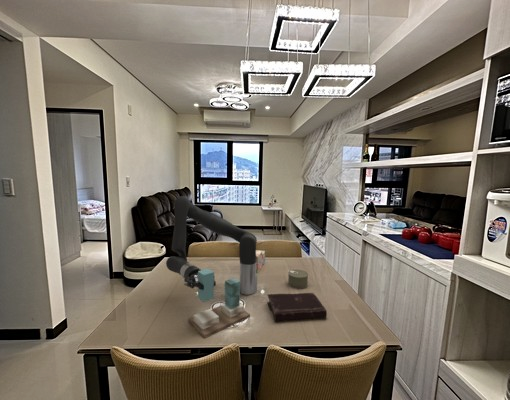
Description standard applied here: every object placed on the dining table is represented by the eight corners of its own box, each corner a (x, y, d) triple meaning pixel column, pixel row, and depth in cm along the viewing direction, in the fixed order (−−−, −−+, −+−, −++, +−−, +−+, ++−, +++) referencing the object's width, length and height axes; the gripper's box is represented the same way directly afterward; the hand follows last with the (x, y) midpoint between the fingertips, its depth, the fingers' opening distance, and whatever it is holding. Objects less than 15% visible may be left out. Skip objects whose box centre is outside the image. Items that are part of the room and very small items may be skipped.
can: (301, 290, 144) (301, 279, 144) (284, 284, 152) (284, 273, 151) (311, 283, 153) (311, 273, 153) (294, 278, 161) (294, 268, 160)
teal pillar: (208, 294, 113) (208, 268, 111) (213, 298, 109) (214, 272, 108) (198, 297, 109) (198, 271, 108) (203, 302, 106) (203, 275, 104)
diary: (326, 320, 117) (327, 310, 116) (274, 324, 113) (274, 313, 112) (311, 299, 135) (312, 290, 134) (266, 302, 131) (266, 293, 131)
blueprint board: (231, 303, 128) (231, 273, 127) (250, 316, 117) (250, 283, 115) (188, 321, 113) (187, 286, 111) (204, 337, 102) (204, 300, 100)
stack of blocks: (257, 261, 190) (257, 246, 188) (265, 262, 188) (265, 247, 187) (249, 272, 169) (249, 255, 168) (257, 273, 168) (258, 256, 166)
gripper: (176, 269, 114) (193, 282, 101) (204, 262, 123) (223, 273, 111) (176, 284, 115) (193, 299, 102) (204, 276, 124) (223, 289, 111)
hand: (209, 285), depth 106 cm, fingers closed on teal pillar, 5 cm apart
